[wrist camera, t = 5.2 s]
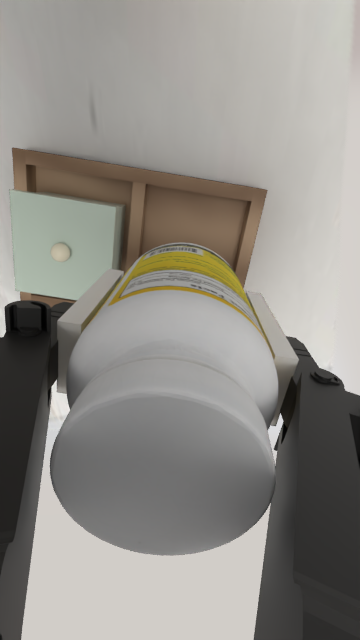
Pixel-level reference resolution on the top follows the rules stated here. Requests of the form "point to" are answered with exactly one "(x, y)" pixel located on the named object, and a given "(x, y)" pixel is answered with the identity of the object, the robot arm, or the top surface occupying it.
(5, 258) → the top surface
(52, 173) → the organizer tray
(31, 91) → the top surface
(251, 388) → the pill bottle
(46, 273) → the trinket box
